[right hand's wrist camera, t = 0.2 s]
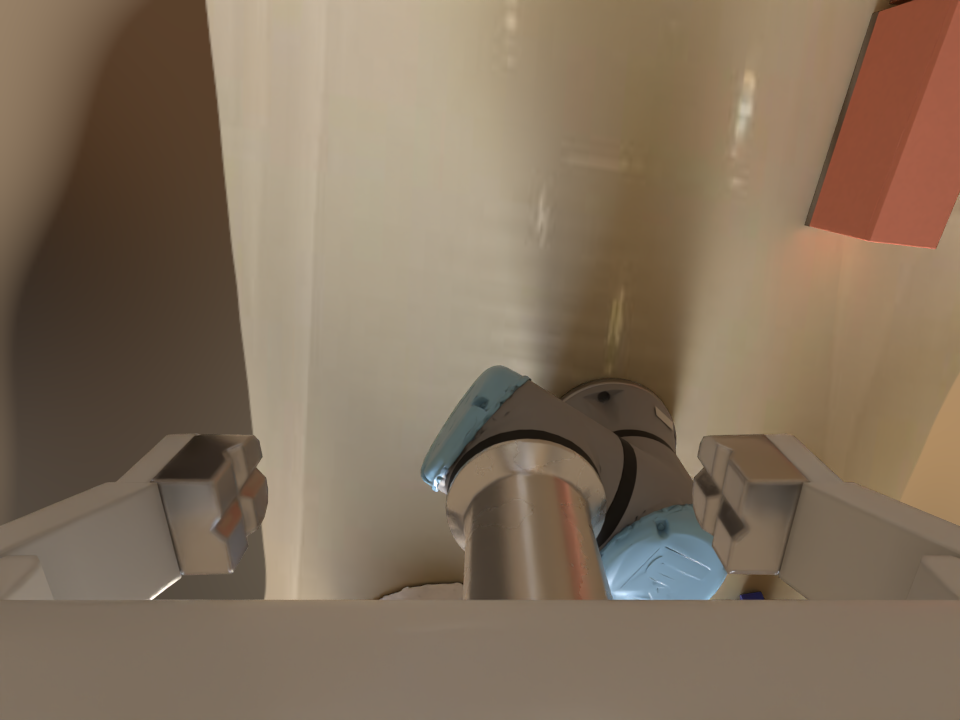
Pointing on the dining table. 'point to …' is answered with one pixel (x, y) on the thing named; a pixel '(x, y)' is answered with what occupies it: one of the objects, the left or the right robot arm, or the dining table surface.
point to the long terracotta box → (897, 132)
